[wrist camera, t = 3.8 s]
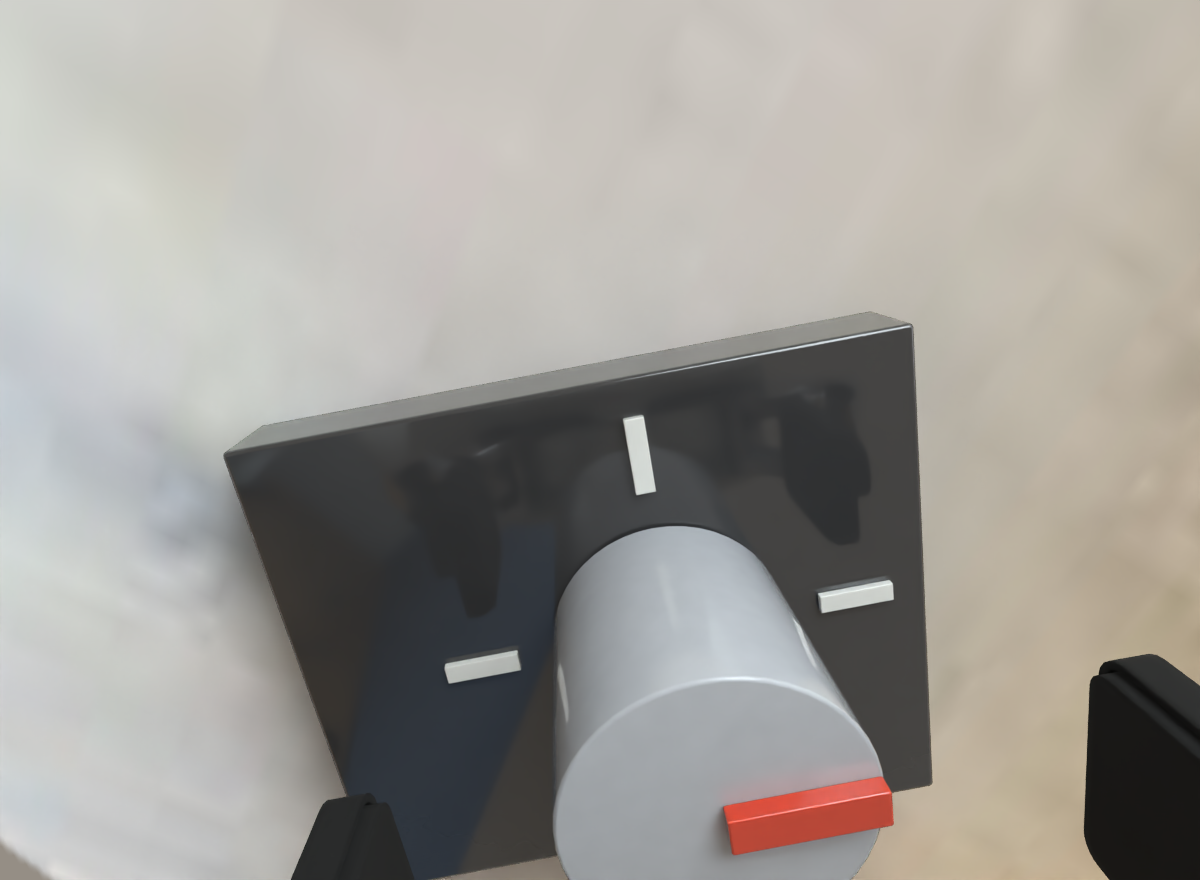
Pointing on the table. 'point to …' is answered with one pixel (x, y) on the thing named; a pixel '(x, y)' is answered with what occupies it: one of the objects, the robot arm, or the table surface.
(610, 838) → the hob knob
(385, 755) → the base plate
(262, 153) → the table surface
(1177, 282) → the table surface
